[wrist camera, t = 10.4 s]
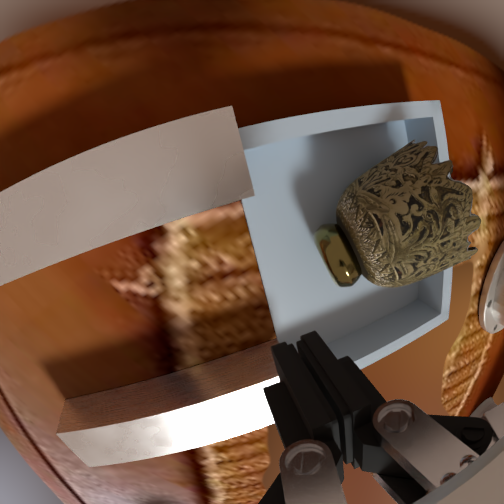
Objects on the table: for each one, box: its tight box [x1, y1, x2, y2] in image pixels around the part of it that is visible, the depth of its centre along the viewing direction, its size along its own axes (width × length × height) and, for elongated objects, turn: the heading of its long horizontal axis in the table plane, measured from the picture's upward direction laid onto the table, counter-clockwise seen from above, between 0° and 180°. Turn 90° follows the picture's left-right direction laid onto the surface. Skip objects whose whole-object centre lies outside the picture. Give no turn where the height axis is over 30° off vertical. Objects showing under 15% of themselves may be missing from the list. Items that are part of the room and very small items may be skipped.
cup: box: [313, 140, 481, 288], centre depth 16 cm, size 8×7×8 cm
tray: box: [238, 100, 452, 369], centre depth 18 cm, size 13×16×3 cm
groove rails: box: [0, 106, 280, 467], centre depth 15 cm, size 16×18×4 cm
